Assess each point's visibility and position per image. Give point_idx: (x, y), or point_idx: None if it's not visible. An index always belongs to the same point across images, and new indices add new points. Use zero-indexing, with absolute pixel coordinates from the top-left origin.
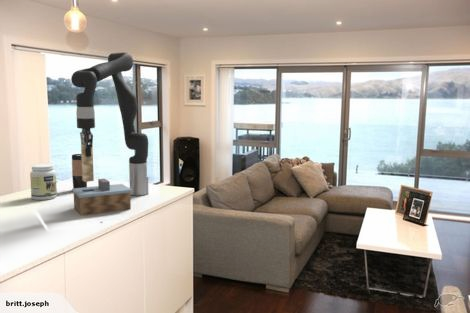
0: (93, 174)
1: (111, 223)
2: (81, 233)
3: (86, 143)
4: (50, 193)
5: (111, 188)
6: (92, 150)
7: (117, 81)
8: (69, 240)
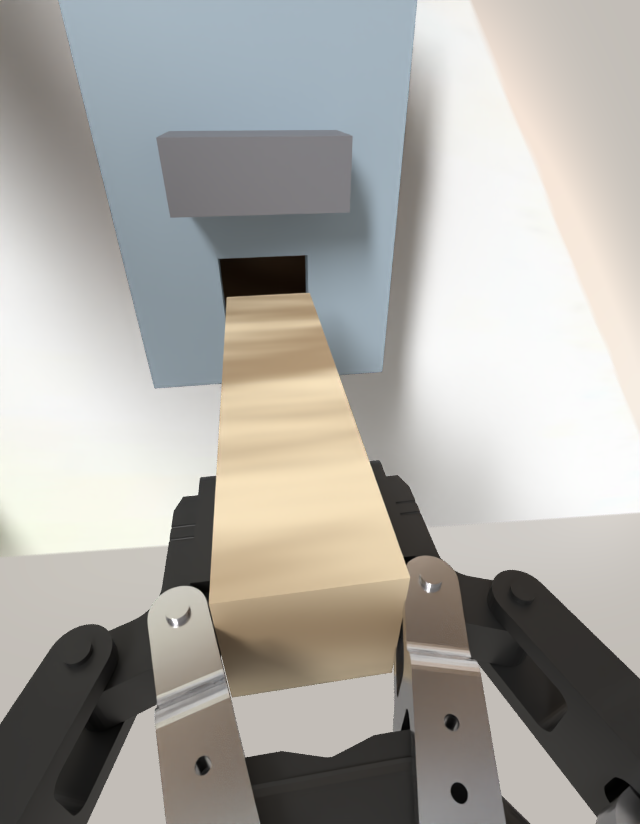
0: (317, 317)
1: (533, 188)
2: (565, 341)
3: (536, 696)
4: None
5: (265, 86)
6: (382, 499)
7: None
8: (602, 385)
